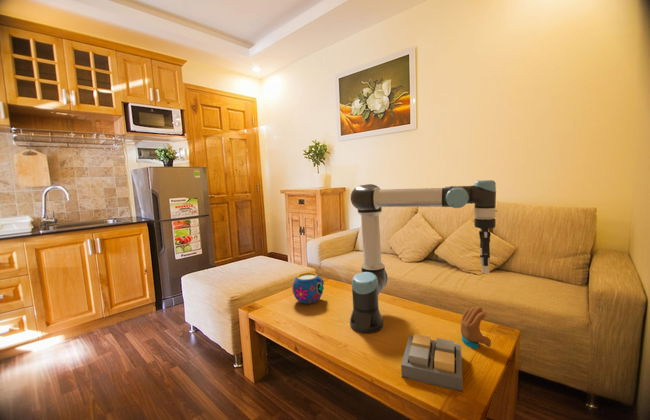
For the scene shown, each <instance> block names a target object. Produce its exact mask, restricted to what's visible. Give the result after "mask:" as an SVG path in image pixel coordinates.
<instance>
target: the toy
mask: <svg viewBox="0 0 650 420" xmlns="http://www.w3.org/2000/svg"><path fill="white" fill-rule="evenodd" d="M486 317H487V315H486V313H485V312H483V308H482V307H481V306H477V307H476V306H473V307H471V308H466V309H465V310H464V311H463V315H462V316H461V319H460V334H461V341H462V343H463V344H464V345H465V346H467V347H468V348H471V349H475V350H477V349H479V348H480V347H479V346H480V345H479V344H483V345H485V347H488V348H490V347H491V346H492V345H491V344H492V341H491V339H490V338H489V337H488V336H485V335H483V334H482V332H481V330H480V329H481V328H480V326H481V322H482V320H483V319H485V318H486Z"/></svg>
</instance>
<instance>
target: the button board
mask: <svg viewBox="0 0 650 420" xmlns="http://www.w3.org/2000/svg"><path fill="white" fill-rule="evenodd" d="M413 337H414V335H408V340H407V343H406V346H405V349H404V350H405V351H404V352H403V357H402V361H401V364H400V365H401V366H400V367H401V368H400V370H401V378H404V379H408V380H411V381H415V382H420V383H424V384H428V385H432V386H436V387H440V388H444V389H448V390H452V391H456V392H461V393H463V389H464V387H463V383H464V382H463V380H464V379H463V378H464V377H463V363H462V362H463V359H462V355H463V354H462V345H461V344H457V343H454V373H451V372H447V371H442V370H438V369H434V357H435V350H436V339H435V340H434V339H431V351H430V353H429V366H428V367H424V366H420V365H415V364H411V363H409V353H410V349H411V345H412V341H413Z"/></svg>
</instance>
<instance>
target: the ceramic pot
mask: <svg viewBox="0 0 650 420" xmlns="http://www.w3.org/2000/svg"><path fill="white" fill-rule="evenodd" d="M292 282H293V283H292V287H291V289H292V293H293V295H294V298H295V300H297V301H298V302H300V303H301V304H312V303H315V302H317V301H318V300H320V299H321V297H322V295H323V293H324V289H325V288H324V283H325V282H324V278H322V277H321V276H319V275H318V274H317V273H314V272H304V273H300V274H298V275H297V276H296V277H295V279H294V280H293V281H292Z"/></svg>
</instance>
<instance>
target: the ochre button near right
mask: <svg viewBox="0 0 650 420" xmlns="http://www.w3.org/2000/svg"><path fill="white" fill-rule="evenodd" d="M434 369H438V370H442V371H447V372H451V373H454V354H453V353H448V352H442V351H437V350H435V357H434Z"/></svg>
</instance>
